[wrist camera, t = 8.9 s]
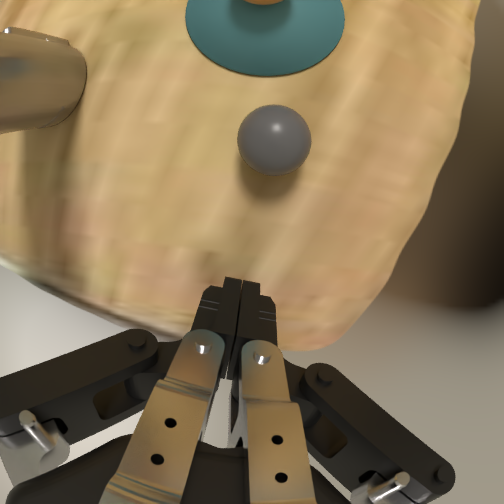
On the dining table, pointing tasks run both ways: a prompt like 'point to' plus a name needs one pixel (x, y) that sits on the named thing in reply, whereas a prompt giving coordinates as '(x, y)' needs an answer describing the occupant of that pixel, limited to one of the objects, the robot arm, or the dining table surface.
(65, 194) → the dining table surface
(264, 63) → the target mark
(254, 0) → the orange ball
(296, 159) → the grey rubber ball
